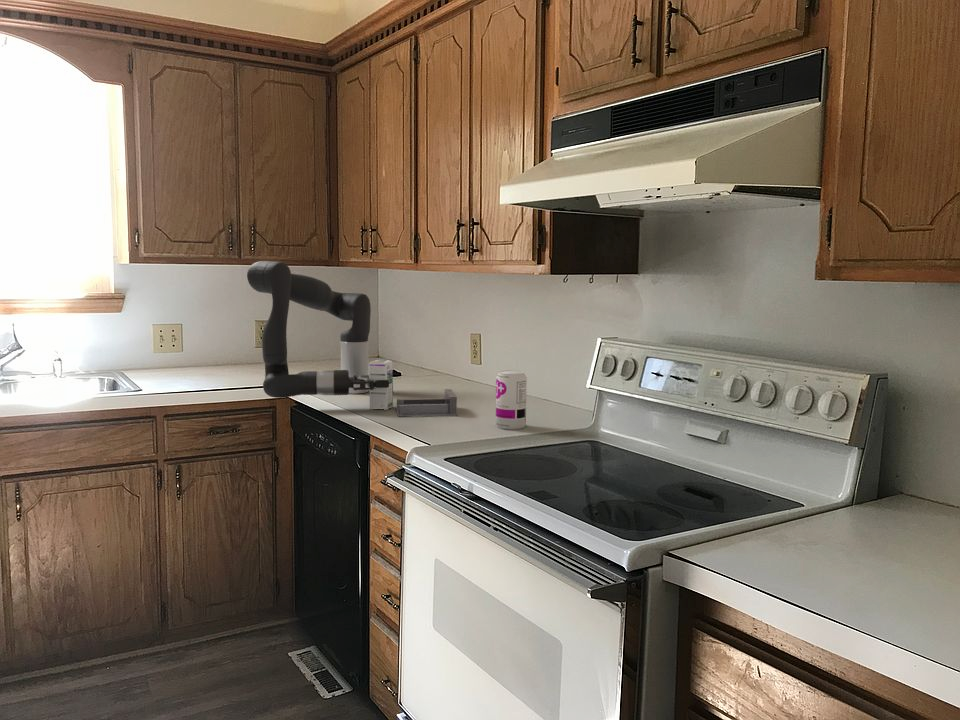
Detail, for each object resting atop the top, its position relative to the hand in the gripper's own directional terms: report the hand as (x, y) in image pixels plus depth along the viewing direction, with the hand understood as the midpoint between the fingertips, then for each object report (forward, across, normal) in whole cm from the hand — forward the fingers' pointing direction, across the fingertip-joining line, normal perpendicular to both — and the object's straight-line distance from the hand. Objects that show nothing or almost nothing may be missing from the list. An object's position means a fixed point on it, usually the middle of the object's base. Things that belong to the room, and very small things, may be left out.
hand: (388, 381), depth 244 cm
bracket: (+11, -7, +8) cm, 15 cm away
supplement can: (+32, -31, +8) cm, 45 cm away
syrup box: (-2, 0, +8) cm, 8 cm away
